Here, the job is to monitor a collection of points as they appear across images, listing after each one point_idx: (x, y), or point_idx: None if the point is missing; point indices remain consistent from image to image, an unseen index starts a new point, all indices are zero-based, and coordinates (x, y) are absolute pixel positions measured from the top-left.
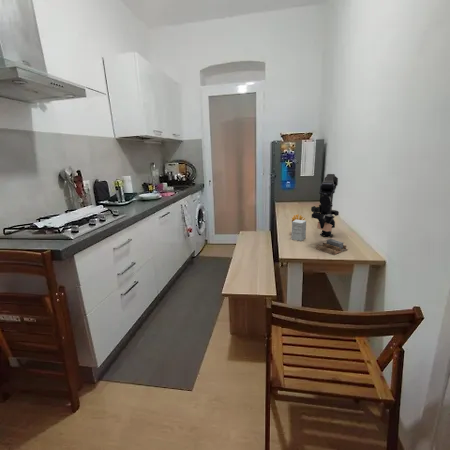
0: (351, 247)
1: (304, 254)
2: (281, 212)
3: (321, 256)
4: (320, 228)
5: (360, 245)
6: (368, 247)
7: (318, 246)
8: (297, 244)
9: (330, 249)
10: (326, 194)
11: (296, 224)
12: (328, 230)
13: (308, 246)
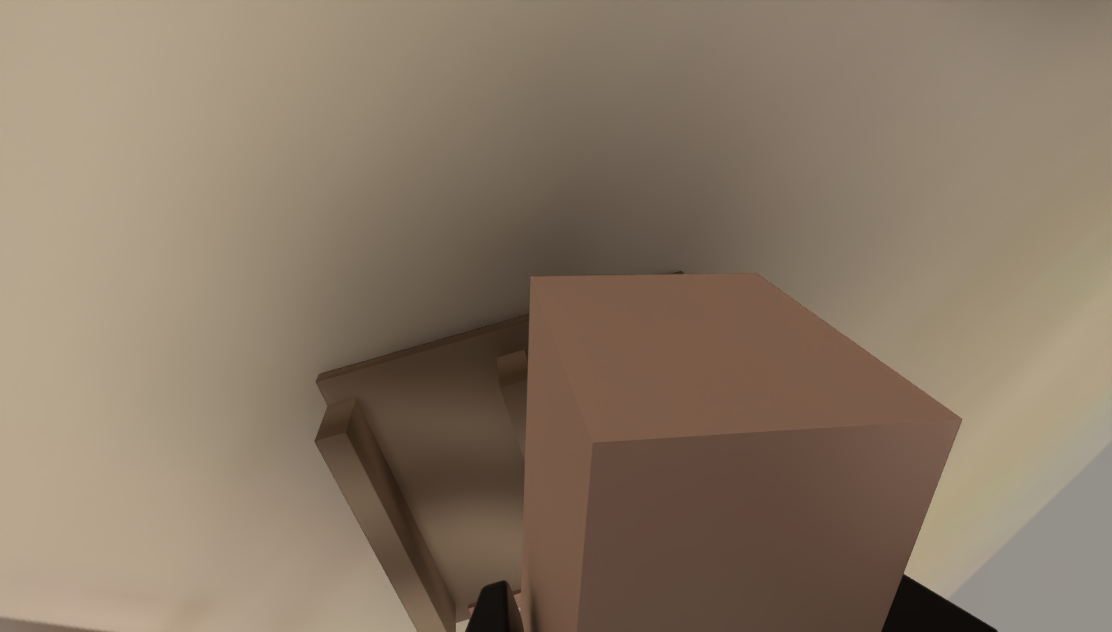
0: None
1: (4, 517)
2: None
3: (247, 616)
4: (527, 482)
5: (1001, 454)
6: (998, 527)
7: (331, 460)
8: (28, 18)
9: (421, 623)
10: None
11: None
12: None
13: (248, 235)
